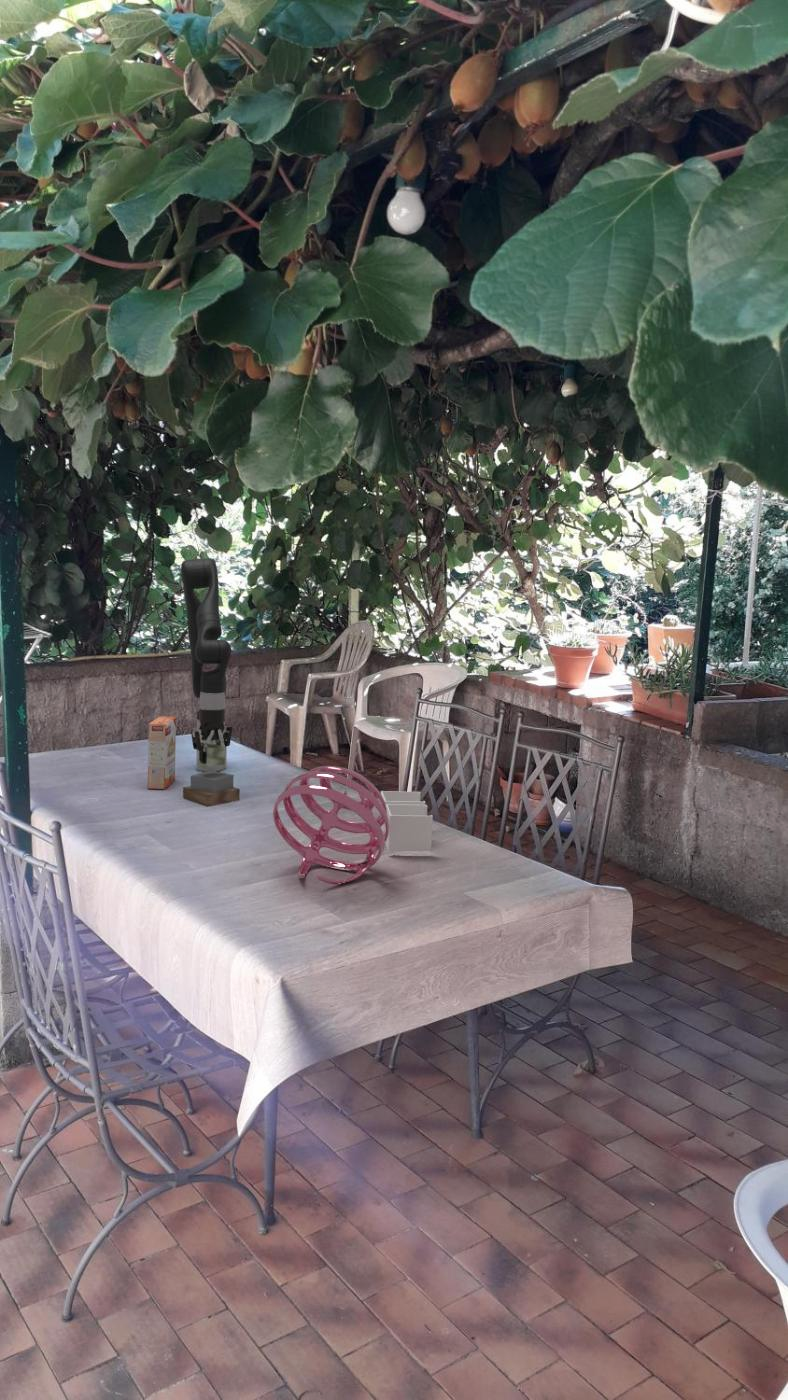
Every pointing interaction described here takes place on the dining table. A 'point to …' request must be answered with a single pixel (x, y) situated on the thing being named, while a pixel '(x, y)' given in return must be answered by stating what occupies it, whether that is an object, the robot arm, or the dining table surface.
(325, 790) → the spiral basket
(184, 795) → the bottom slab
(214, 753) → the green cube
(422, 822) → the storage container
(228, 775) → the top slab
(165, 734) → the cracker box
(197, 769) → the robot arm
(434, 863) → the dining table surface
